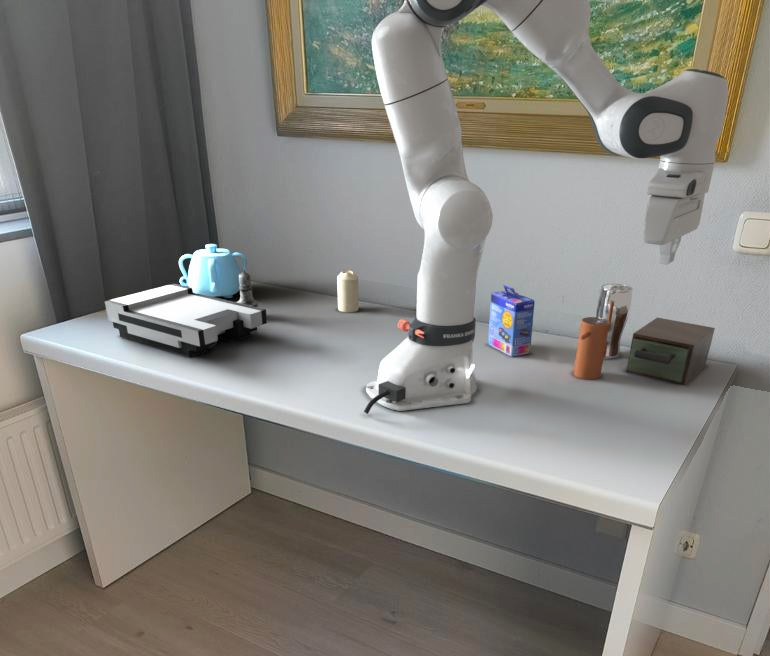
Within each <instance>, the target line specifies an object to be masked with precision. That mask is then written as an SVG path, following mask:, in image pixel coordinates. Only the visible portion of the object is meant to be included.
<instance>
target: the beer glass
mask: <svg viewBox="0 0 770 656" xmlns="http://www.w3.org/2000/svg"><path fill="white" fill-rule="evenodd" d="M633 289H634V288H633V287H632V286H630V285H627V284H623V283H621V284H620V283H605V284H602V285H601V288H600V292H599V296H598V300H597V305H596V316H595V317H598V318H603V319H606V320H608V321H609V322H610V324H609V329H608V335H607V341H606V347H605V353H604V359H603V360H605V359H606V360H614V359H617V358H620V356H621V355H620V354H621V340H622V335H623V333H624V330H625V327H626V324H627V321H628V318H629V315H630V311H631V307H632V297H633Z"/></svg>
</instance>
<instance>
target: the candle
mask: <svg viewBox="0 0 770 656" xmlns="http://www.w3.org/2000/svg"><path fill="white" fill-rule="evenodd" d="M336 280H337V281H336V285H337V309H338V311H339V312H342V313H355V312H357V311H359V307H360V305H359V304H360V303H359V276H358V275H357V274H356V273H355V272H353V271H352V270H350V269H349V270H343V271H341V272H340V273H339V274H338V275H337V277H336Z"/></svg>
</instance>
